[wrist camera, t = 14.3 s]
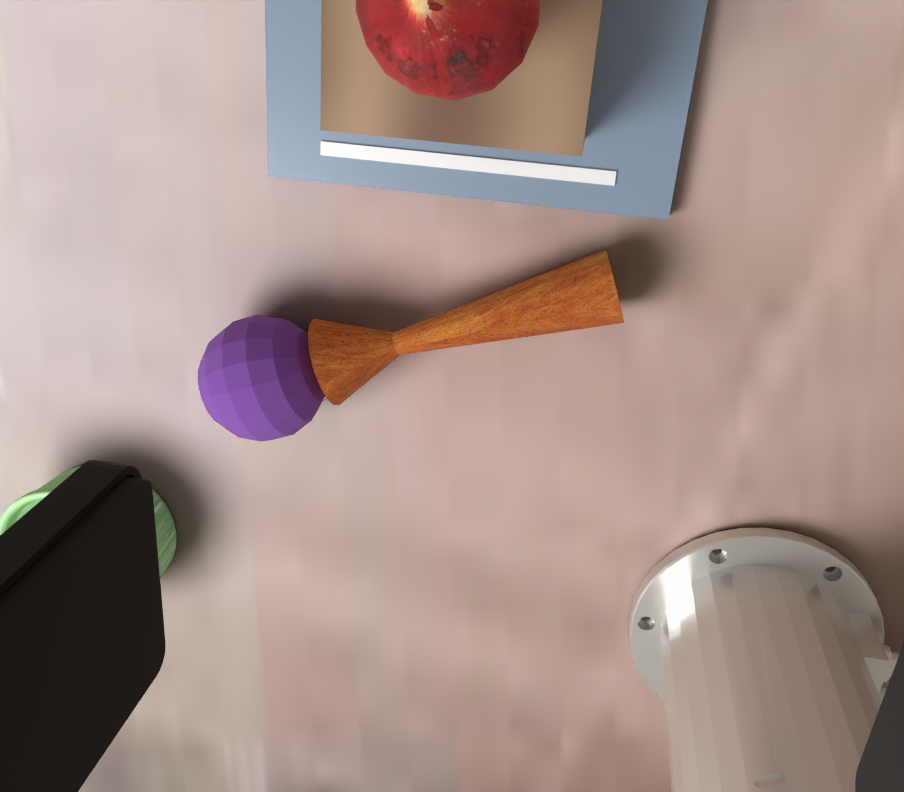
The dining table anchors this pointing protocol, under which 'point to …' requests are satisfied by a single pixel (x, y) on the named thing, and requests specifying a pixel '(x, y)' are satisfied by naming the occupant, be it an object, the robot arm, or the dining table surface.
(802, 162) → the dining table surface
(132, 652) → the robot arm
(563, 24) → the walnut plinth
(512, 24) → the onion
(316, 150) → the blueprint mat
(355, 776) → the dining table surface
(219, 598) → the dining table surface
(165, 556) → the ramekin
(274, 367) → the maraca
